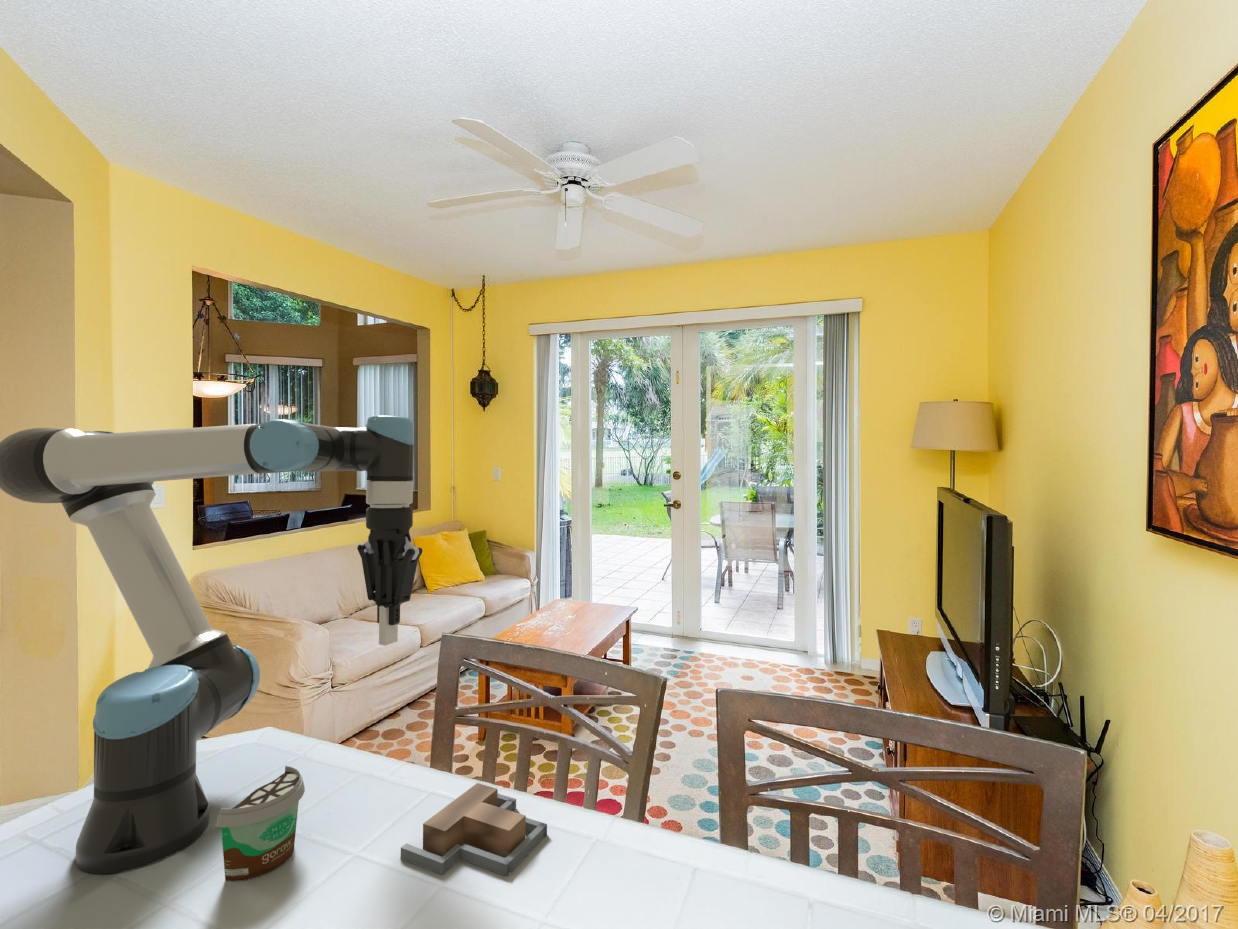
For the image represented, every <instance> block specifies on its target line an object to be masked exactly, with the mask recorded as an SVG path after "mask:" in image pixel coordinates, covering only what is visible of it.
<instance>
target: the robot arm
mask: <svg viewBox="0 0 1238 929" xmlns="http://www.w3.org/2000/svg"><path fill="white" fill-rule="evenodd" d="M366 420H367V421H366V424H365V426H362V427H339V426H338V427H337V426H334V427H333V426H328V425H320V424H314V423H310V422H309V423H308V422H303V421H299V420H296V419H294V418H293V419H291V418H288V419H287V418H285V419H284V418H282V419H281V418H280V419H277V418H276V419H270V420H267V421H265V422H263V423H247V424H245V423H244V424H232V425H231V424H229V425H228V424H227V425H217V426H216V425H215V426H200V427H199V426H198V427H186V428H173V429H155V430H140V431H129V432H113V431H105V430H101V431H100V430H95V431H94V430H93V431H90V430H89V431H87V430H80V429H76V428H75V429H74V428H66V429H61V428H50V427H34V428H28V429H23V430H19V431H17V432H14V433H12V434H10V435H8V436H6V437H5V438H4V439H3V440H1V441H0V490H2V492H4V493H5V494H7V495H8V496H11V497H12V498H15V499H18V500H21V501H23V502H28V503H34V504H59V503H61V505H62V506H63V509H64V511H65V512H66V514H67V516H68V518H69V520H70V522H71V523H73V524H74V523H75V524H78V525H81V526H84V527H86V528H87V529H88V530H89V533H90V534H91V537H92V538H93V540H94V542H95V544H96V546H97V549H98V550H99V553H100V554H101V557H102V558H103V560H104V562H105V564H106V566H107V568H108V569H109V572H110V574H111V575H112V577H113V579H114V581H115V583H116V585H117V587H118V590H119V591H120V593H121V596H122V597H123V598H124V601H125V603H126V605H127V607H128V609H129V611H130V612H131V615H132V617H133V619H134V621H135V622H136V624H137V627H138V628H139V630H140V633H141V634H142V637H143V638H144V640H145V643H146V644H147V646H148V648H149V650H150V652H151V654H152V659H151V662H150V664H148V667H147V668H146V669H144V670H143V671H135V672H133V673H131V674H130V673H129V674H128V675H125V676H123V677H121V678H119V679H116V680H115V681H113V682H112V683H110V684H109V685H107V686H106V687H105V689H103V690H102V691H101V693H100V694H99V696H98V697H97V700H96V702H95V703H96V704H95V712H94V715H93V716H94V717H93V719H92V727H93V731H94V732H93V734H94V735H93V798H92V803H91V806H90V807H89V810H88V812H87V816H86V818H85V820H84V823H83V825H82V828H81V831H80V833H79V836H78V837H77V841H76V845H75V864H76V866H77V868H78V869H80V871H83V872H85V873H90V874H99V875H100V874H101V875H103V874H114V873H120V872H121V873H122V872H125V871H126V872H127V871H130V870H134V869H135V870H136V869H139V868H142V867H144V866H149V865H151V864H154V863H156V862H159V861H161V860H163V859H164V860H165V859H166V858H168V857H170V856H173V855H174V854H176V853H178V852H180V851H182V850H183V849H185V848H187V847H188V846H189V845H191V844H192V843H194V842H195V841H196V840H197V839H198V838H200V837H201V836H202V835H203V833H204V832H205V831H206V829H207V828H208V826H209V824H210V805H209V801H208V799H207V797H206V794H205V792H204V789H203V786H202V784H201V781H200V780H199V778H198V775H197V741H198V740H199V739H201V738H203V737H204V736H206V735H207V734H209V733H210V732H211V731H213V730H214V729H216V727H218V726H220V725H221V724H222V723H223V722H225V721H228V720H229V719H231V718H233V717H235V716H236V715H237V714H238V713H239V712H240V711H241V710H242V709H244V707H245V706H246V705H248V703H250V702H251V700H253V697H254V696H255V694H256V693H257V690H258V687H259V685H260V679H261V670H260V665H259V662H258V660H257V659H256V658H257V657H255V655H254V654H253V653H252V651H250V650H248V649H247V648H245V647H244V648H243V647H241V646H240V645H237V644H233V643H232V641H231V639H230V637H229V635H228V633H227V631H224V630H223V631H222V630H218V629H215V628H214V627H212V625H211V624H210V621H209V619H208V618H207V616H206V613H205V612H204V610H203V608H202V606H201V604H200V602H199V600H198V598H197V596H196V594H195V593H194V590H193V588H192V586H191V584H190V583H189V580H188V578H187V576H186V574H185V573H184V571H183V568H182V567H181V564H180V563H179V561H178V559H177V557H176V555H175V553H174V550H173V549H172V547H171V545H170V543H169V541H168V539H167V537H166V535H165V533H164V531H163V528H162V527H161V524H160V523H159V521H158V519H157V518H156V515H155V514H154V511H153V508H152V507H151V504H152V502H153V500H154V498H155V496H156V494H157V493H156V492H155V489H154V488H153V485H154V483H155V482H165V481H178V480H192V479H206V478H219V477H229V476H230V477H232V476H234V477H235V476H244V475H245V476H246V475H257V474H277V473H290V472H291V473H293V472H317V473H319V472H345V471H346V472H353V471H354V472H356V471H357V472H366V485H365V486H366V487H365V488H366V490H365V492H366V493H365V497H366V498H365V503H366V504H367V505H369V507H367V508H366V509H365V528H366V529H368V530H370V531H369V534H368V536H367V541H366V542H365V543H363V544H358V545H357V548H356V549H357V551H358V554H359V556H360V558H361V565H362V570H363V576H364V584H365V588H366V589H365V590H366V595H367V600H368V601H373V602H374V603H375V604H376V608H377V609H376V610H377V611H376V612H377V614H376V615H377V616H376V621H377V624H379V625H378V645H379V646H384V647H385V646H388V645H392V644H395V643H397V642H398V641H399V640H398V639H399V638H398V634H399V633H398V630H399V629H398V626H399V624H400V621H401V605H402V604H404V603H406V602H409V601H411V596H412V592H413V586H414V582H415V576H416V572H417V567H418V561H419V559H420V558H421V556H422V554H423V549H422V547H420V546H419V547H416V546H415V545H414V544H413V543H412V538H411V535H410V530H411V528H412V527H413V524H414V522H413V521H414V520H413V517H414V508H413V507H412V506H410V505H412V504H413V502H414V500H413V499H414V452H415V451H414V450H415V447H414V446H415V441H414V440H415V439H414V424H413V421H412V419H410V418H408V417H405V416H399V415H370V416H369V417H368V418H367V419H366Z"/></svg>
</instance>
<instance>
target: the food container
mask: <svg viewBox="0 0 1238 929" xmlns="http://www.w3.org/2000/svg"><path fill="white" fill-rule="evenodd" d="M305 789H306V788H305V784H304V779H303V776H302V775H301V773H300V771H299V770H298V769H296V768H295V767H293V766H290V765H289V766H288V765H285V767H284V773H282V774H281V775H279V776H278V777H277V778H276V779H274V780H271V782H268V783H266V784H264V785H262V786H260V787H258V788H256V789H255V790H253V791H252V792H251V793H250V794H249V795H248V796H246V797H245V798H243V800H242V801H240V802H238V804H236V805H235V806H233V807H232V808H223V807H222V808H219V814H218V815H217V821H216V827H217V828H220V830H221V833H220V834H221V843H222V852H223V853H222V856H223V867H224V868H223V869H224V880H225V882H242V881H248V879H249V880H252V879H257V878H259V877H262V876H265V875H267V874H268V873H271V872H273V871H275V870H276V869H278V868H280V867H282V866H283V865H285V863H286V862H287V861H289V859H290V858H291V856H292V855H293V853H294V850H295V840H296V832H297V831H296V830H297V822H298V812H299V803H300V800H301V799H302V797H303V796H304V794H305Z"/></svg>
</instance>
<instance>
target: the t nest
mask: <svg viewBox="0 0 1238 929" xmlns="http://www.w3.org/2000/svg"><path fill="white" fill-rule="evenodd" d="M497 807H500V808H503V809H506V810H510V811H513V812H515V810H517V798H514V797H511V796H508V795H505V794H502V793H498V799H497ZM525 834H528V835H527V836H525V839H524V840H523V841H522V842H521V843H520V844H519V845H518V846H517V847H516V848H515V849H514V850H513V851H512V852H511V853H510V854H509V855H508V856H507V857H506V858H504V857H501V856H498V855H495V854H492V853H489V852H487V851H484V850H481V849H478V848H475V847H472V846H470V845H467V844H463V845H458V844H456V845H455V846H454V847H453V848H451V849H450V850H449V851H448V852H447V853H446V854H444V855H443V856H442V857H441V856H439V855H436V854H433V853H431V852H428V851H425V850H423V848H419V847H418V846H414V845H412V844H409V843H405V844H403V845H402V846H401V847H400V859H402V860H404V861H407V862H410V863H411V864H414V865H417V866H419V867H422V868H424V869H427V870H430V871H433V872H435V873H438V874H440V875H444V874H445V873H446V872H447V871H448V870H449V869H451V867H452V866H454V865H455V864H456V863H457V862H458V861H459V860H462V861H463V862H464V861H465V862H467V863H470V864H472V865H475V866H478V867H481V868H484V869H486V870H489V871H491V872H494V873H497V874H499V875H502V876H506V877H508V876H509V875H510V874H511V873H512V872H513V870H515V868H517V866H518V865H519V864H521V862H522V861H523V860H524V859H525V858H526V857H527V856H528V855H529V854H530V853H531V852H532V851H533V850H534V849H535V848H536V846H538V844H539V843H541V841H542V840H543V839H544V838H545V837H546V835H548V823H544V822H542V821H538V820H535V819H532V818H528V817H526V828H525Z"/></svg>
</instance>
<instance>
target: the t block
mask: <svg viewBox="0 0 1238 929" xmlns="http://www.w3.org/2000/svg"><path fill="white" fill-rule="evenodd" d="M498 794H499V792H498V788H495V787H492V786H489V785H485V784H482V783H480V782H479V783H478V782H476V783H475V784H474V785H472V786H471V787H470V788H468V789H467V790H465V791H464V792H463V793H462V794H460V795H458V797H456V798H455V799H454V800H452V801H451V802H450V803H449V804H447V805H446V806H445V807H443V808H442V809H441V810H439V811H438V812H436V813H435V814H434V815H432V817H430V818H429V819H428V820H426V821H424V822H423V823H422V850H425V851H428V852H431V853H433V854H436V855H439V856H441V857H442V856H443V855H444V854H446V853H447V852H448V851H449V850H450V849H451V848H453V847H454V846H455V845H456V844H458V845H461V846H463V845H464V844H466V845H469V846H472V847H475V848H477V849H480V850H483V851H486V852H489V853H492V854H494V855H497V856H500V857H503V858H506V857H507V856H508V855H509V854H510V853H511V852H512V851H513V850H514V849H515V848H516V847H517V846H518V845H519V844H520V843H521V842H522V841H523V840H524V839H525V838H526V832H525V828H526V818H527V817H526V815H525V814H522V813H518V812H516V811H510V810H506V809H503V808H500V807H497V799H498Z"/></svg>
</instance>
